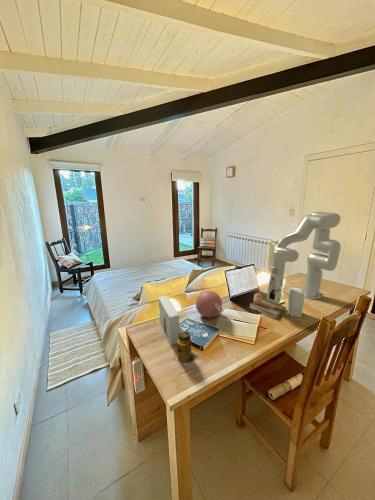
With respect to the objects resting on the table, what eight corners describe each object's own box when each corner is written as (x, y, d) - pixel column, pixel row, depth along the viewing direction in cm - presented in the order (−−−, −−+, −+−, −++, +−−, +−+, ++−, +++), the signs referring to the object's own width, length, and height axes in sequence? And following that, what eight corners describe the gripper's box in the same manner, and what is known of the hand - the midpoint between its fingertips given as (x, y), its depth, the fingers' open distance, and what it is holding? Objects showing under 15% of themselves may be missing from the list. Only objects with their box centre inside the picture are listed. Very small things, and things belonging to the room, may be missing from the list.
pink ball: (206, 330, 113) (207, 304, 109) (191, 311, 131) (191, 288, 127) (230, 324, 118) (232, 299, 114) (213, 306, 136) (214, 284, 132)
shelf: (260, 300, 145) (260, 296, 144) (285, 309, 133) (286, 305, 133) (249, 308, 135) (249, 303, 134) (275, 319, 123) (276, 314, 122)
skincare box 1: (158, 321, 120) (157, 296, 116) (167, 319, 122) (167, 294, 118) (169, 346, 101) (169, 316, 97) (180, 343, 103) (180, 314, 99)
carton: (279, 300, 131) (281, 288, 129) (276, 303, 128) (278, 291, 126) (269, 297, 135) (271, 285, 133) (266, 299, 132) (268, 287, 130)
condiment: (173, 358, 94) (173, 335, 91) (185, 348, 100) (185, 326, 97) (185, 366, 89) (186, 342, 86) (198, 355, 95) (198, 332, 92)
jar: (255, 301, 139) (256, 292, 137) (262, 304, 136) (263, 294, 134) (252, 304, 136) (253, 294, 134) (258, 306, 133) (259, 297, 131)
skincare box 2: (301, 317, 125) (305, 294, 121) (289, 316, 126) (293, 292, 122) (297, 310, 133) (301, 287, 129) (286, 309, 134) (289, 286, 130)
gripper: (277, 275, 118) (273, 304, 123) (289, 268, 130) (285, 295, 134) (264, 271, 123) (261, 300, 128) (277, 265, 135) (273, 291, 140)
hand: (273, 297), depth 131 cm, fingers closed on carton, 4 cm apart
